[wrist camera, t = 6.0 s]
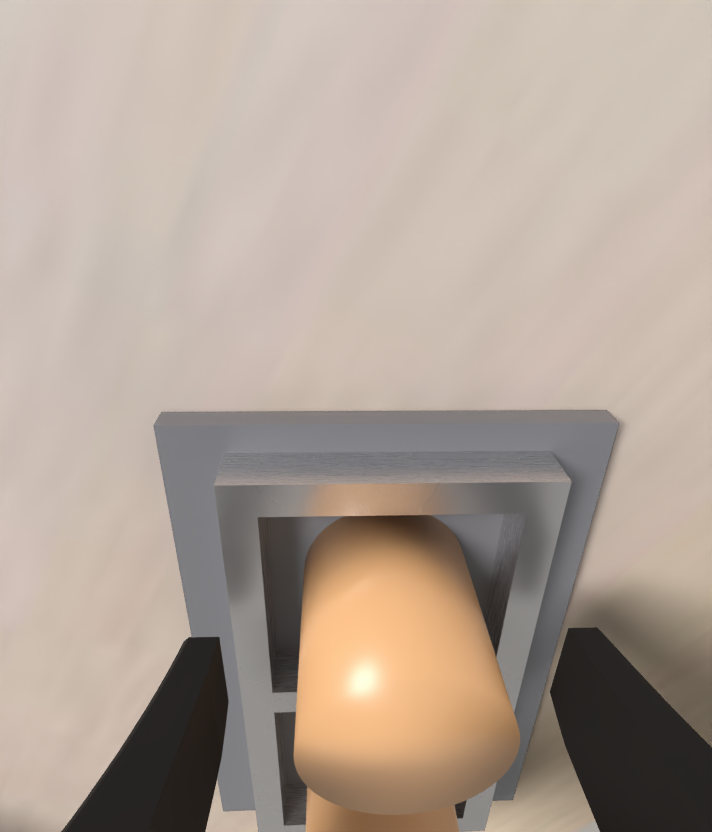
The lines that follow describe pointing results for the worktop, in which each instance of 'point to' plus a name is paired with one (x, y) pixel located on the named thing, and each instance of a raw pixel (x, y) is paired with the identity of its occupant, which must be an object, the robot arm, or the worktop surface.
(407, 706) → the peach rounded capsule
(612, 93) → the worktop surface
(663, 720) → the robot arm
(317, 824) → the frame
